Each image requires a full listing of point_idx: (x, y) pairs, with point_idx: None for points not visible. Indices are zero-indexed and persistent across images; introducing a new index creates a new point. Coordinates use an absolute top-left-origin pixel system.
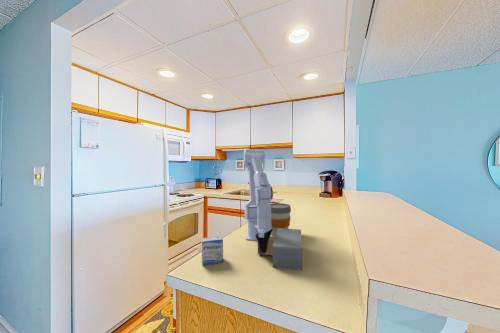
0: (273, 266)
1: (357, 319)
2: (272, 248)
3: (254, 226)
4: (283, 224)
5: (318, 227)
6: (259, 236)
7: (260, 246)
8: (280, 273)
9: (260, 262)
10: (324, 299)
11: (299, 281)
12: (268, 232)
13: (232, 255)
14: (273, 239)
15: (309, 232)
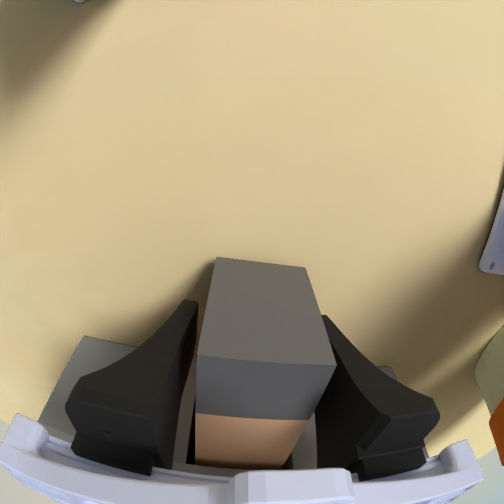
0: (83, 341)
1: (5, 421)
2: (40, 417)
3: (259, 502)
4: (497, 432)
5: (482, 440)
6: (16, 425)
7: (165, 331)
8: (54, 355)
9: (112, 274)
10: (16, 408)
11: (44, 393)
12: (327, 457)
13: (201, 23)
14: (214, 453)
15: (463, 433)
